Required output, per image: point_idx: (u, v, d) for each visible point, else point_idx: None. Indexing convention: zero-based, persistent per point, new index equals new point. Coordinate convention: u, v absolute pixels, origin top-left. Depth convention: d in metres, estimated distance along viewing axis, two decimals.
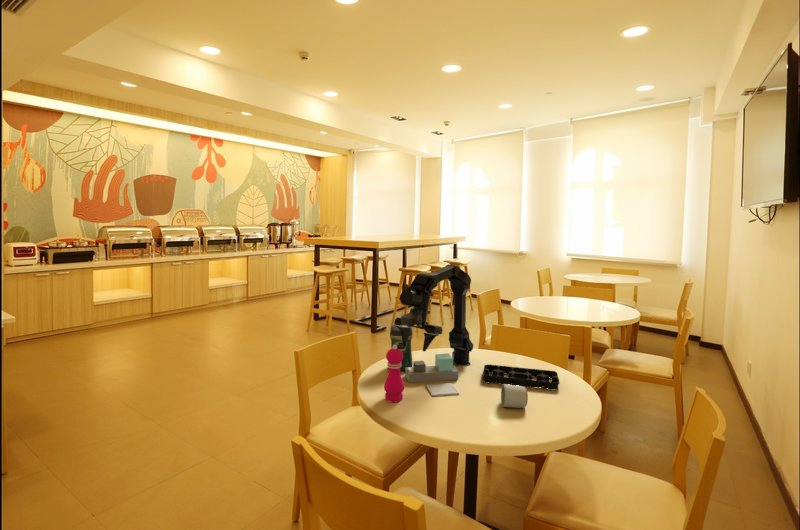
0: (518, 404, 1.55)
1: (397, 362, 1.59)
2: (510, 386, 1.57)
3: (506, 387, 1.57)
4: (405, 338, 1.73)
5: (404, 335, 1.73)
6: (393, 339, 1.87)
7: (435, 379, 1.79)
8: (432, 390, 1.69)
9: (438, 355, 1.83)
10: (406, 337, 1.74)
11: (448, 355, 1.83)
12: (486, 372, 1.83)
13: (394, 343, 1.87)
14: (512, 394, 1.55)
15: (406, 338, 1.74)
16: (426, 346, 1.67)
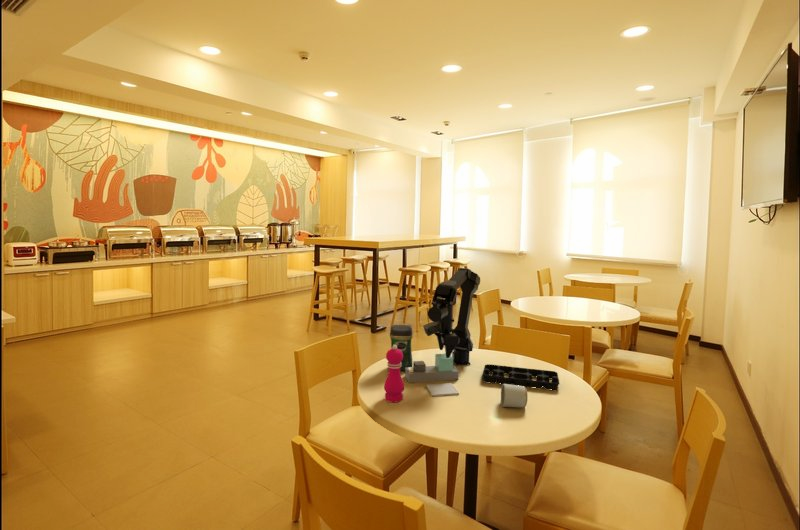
0: (518, 404, 1.56)
1: (397, 362, 1.59)
2: (510, 386, 1.58)
3: (506, 387, 1.57)
4: (441, 343, 1.86)
5: (439, 340, 1.86)
6: (393, 339, 1.87)
7: (435, 379, 1.79)
8: (432, 390, 1.69)
9: (438, 355, 1.83)
10: (442, 342, 1.86)
11: None
12: (486, 372, 1.83)
13: (394, 343, 1.87)
14: (512, 394, 1.55)
15: (442, 343, 1.86)
16: (448, 353, 1.76)
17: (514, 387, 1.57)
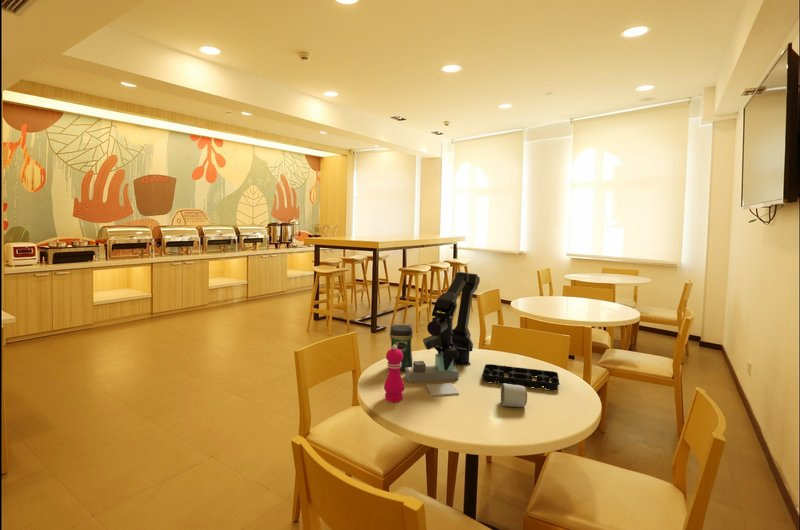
0: (517, 404, 1.56)
1: (397, 362, 1.59)
2: (510, 385, 1.58)
3: (506, 386, 1.57)
4: None
5: None
6: (393, 339, 1.87)
7: (435, 379, 1.79)
8: (432, 390, 1.69)
9: (438, 355, 1.83)
10: None
11: None
12: (486, 372, 1.83)
13: (394, 343, 1.87)
14: (512, 393, 1.56)
15: None
16: (446, 365, 1.79)
17: (514, 387, 1.58)
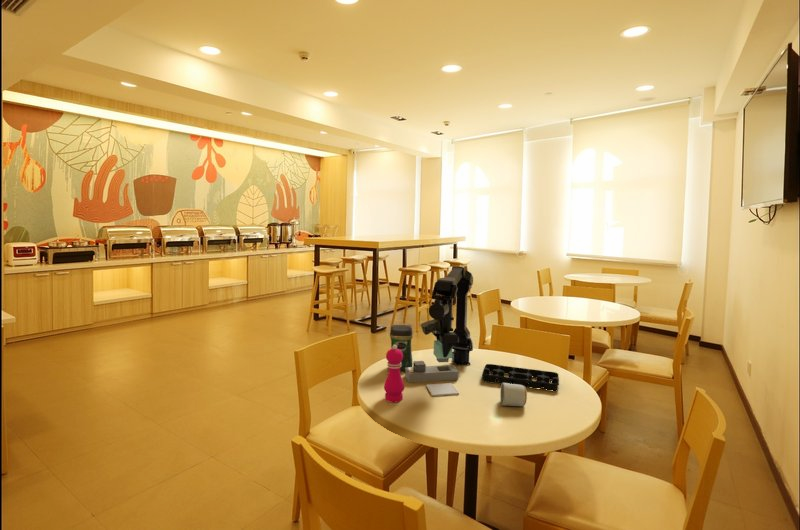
0: (517, 403, 1.57)
1: (397, 362, 1.59)
2: (509, 385, 1.59)
3: (505, 386, 1.58)
4: None
5: None
6: (393, 339, 1.87)
7: (435, 379, 1.79)
8: (432, 390, 1.69)
9: (437, 341, 1.71)
10: None
11: None
12: (486, 371, 1.84)
13: (394, 343, 1.87)
14: (511, 393, 1.56)
15: None
16: (445, 352, 1.67)
17: (513, 386, 1.58)
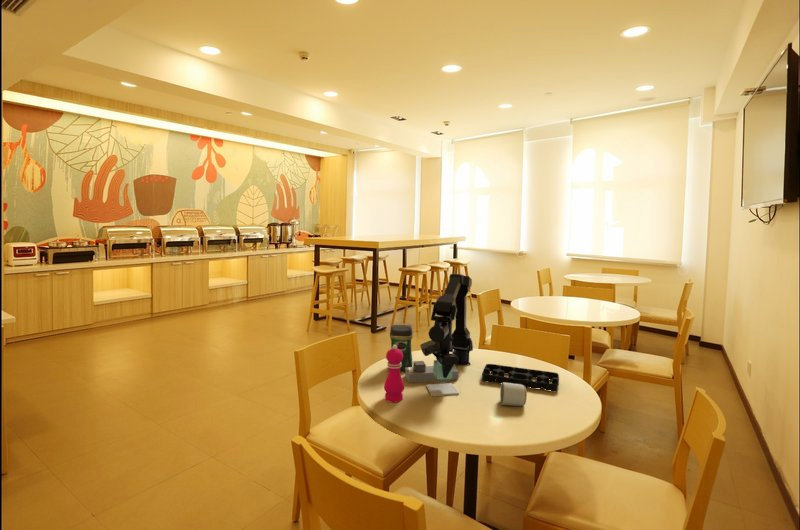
0: (517, 403, 1.57)
1: (397, 362, 1.59)
2: (509, 384, 1.59)
3: (505, 385, 1.58)
4: None
5: None
6: (393, 339, 1.87)
7: (435, 379, 1.79)
8: (432, 390, 1.69)
9: (436, 361, 1.70)
10: None
11: None
12: (486, 371, 1.84)
13: (394, 343, 1.87)
14: (511, 392, 1.57)
15: None
16: (445, 373, 1.66)
17: (513, 385, 1.58)
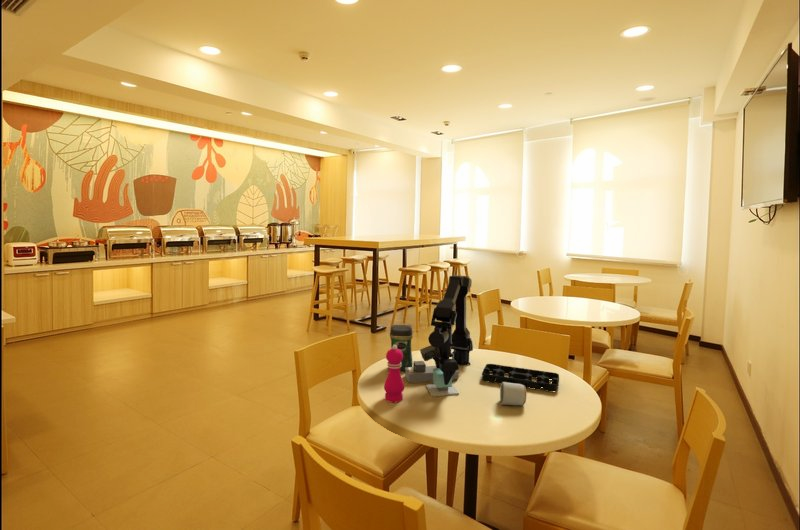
0: (517, 402, 1.57)
1: (397, 362, 1.59)
2: (509, 384, 1.59)
3: (505, 385, 1.59)
4: (439, 367, 1.74)
5: (437, 364, 1.74)
6: (393, 339, 1.87)
7: None
8: (432, 390, 1.69)
9: (436, 370, 1.70)
10: None
11: None
12: (486, 371, 1.84)
13: (394, 343, 1.87)
14: (511, 392, 1.57)
15: None
16: (446, 380, 1.65)
17: (513, 385, 1.59)
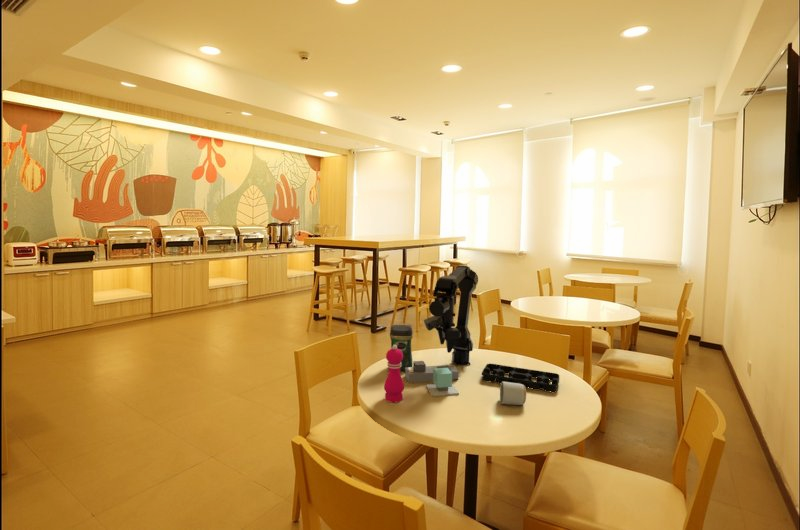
0: (516, 402, 1.58)
1: (397, 362, 1.59)
2: (509, 383, 1.60)
3: (505, 384, 1.59)
4: (441, 337, 1.84)
5: (440, 334, 1.83)
6: (393, 339, 1.87)
7: None
8: (432, 390, 1.69)
9: (436, 370, 1.70)
10: (443, 336, 1.84)
11: (447, 370, 1.71)
12: (486, 371, 1.84)
13: (394, 343, 1.87)
14: (510, 391, 1.57)
15: (443, 337, 1.84)
16: (449, 348, 1.74)
17: (513, 385, 1.59)
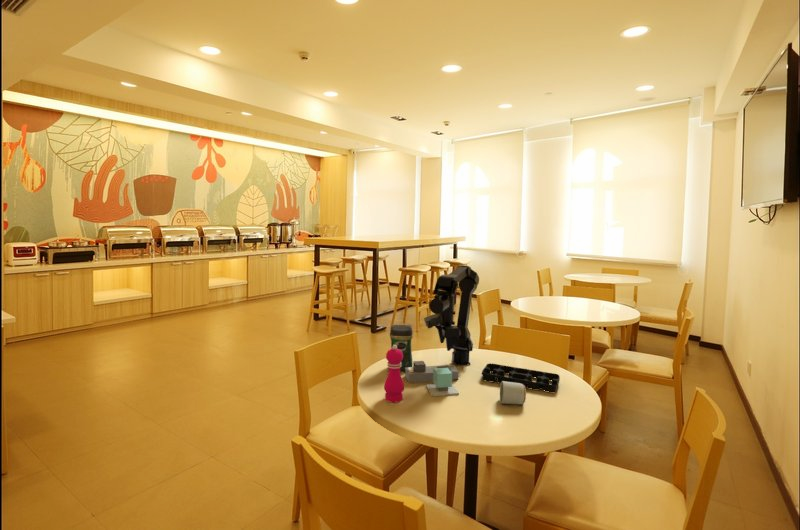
0: (516, 401, 1.58)
1: (397, 362, 1.59)
2: (508, 383, 1.60)
3: (504, 384, 1.59)
4: (441, 336, 1.84)
5: (440, 333, 1.84)
6: (393, 339, 1.87)
7: None
8: (432, 390, 1.69)
9: (436, 370, 1.70)
10: (443, 335, 1.84)
11: (447, 370, 1.71)
12: (486, 370, 1.85)
13: (394, 343, 1.87)
14: (510, 391, 1.58)
15: (443, 336, 1.84)
16: (449, 346, 1.75)
17: (513, 384, 1.59)
